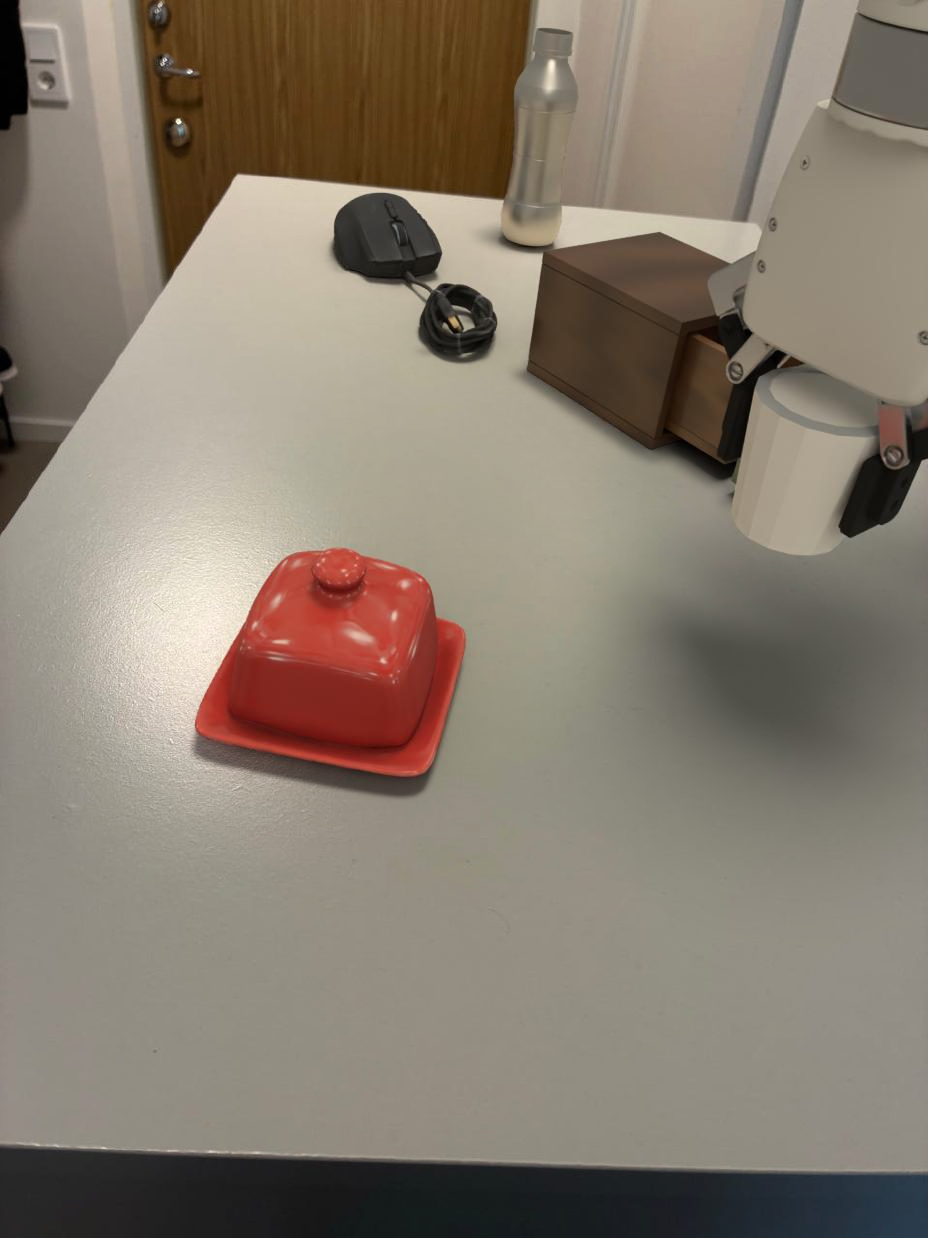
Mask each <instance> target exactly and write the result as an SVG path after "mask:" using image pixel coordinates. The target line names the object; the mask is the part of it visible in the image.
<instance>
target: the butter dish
mask: <svg viewBox="0 0 928 1238" xmlns="http://www.w3.org/2000/svg"><path fill="white" fill-rule="evenodd" d="M436 613H437V612H436V607H435V599H434V595H433V591H432V587H431V585H430V584H429V582H428V581H427V579H426V578H425V577H424V576H422V575H421V574H420V573H418V572H417V571H414V570H412V569H410V568H408V567H405V566H403V565H400V564H397V563H393V562H390V561H386V560H383V559H379V558H375V557H369V556H366V555H362V554H360V553H359V552H358V551H356V550H353V549H350V548H346V547H332V548H327V549H325V550H304V551H297V552H294V553H292V554H289V555H287V556H286V557H284V558H283V559H282V560H280V562H278V564H276V566H275V567H274V568H273V570H272V571H271V573H270V574H269V575H268V577H267V578H266V579H265V580H264V583H263V584H262V586H261V588H260V589H259V591H258V593H257V594H256V596H255V598H254V600H253V602H252V604H251V606H250V609H249V611H248V613H247V616H246V619H245V621H244V623H243V624H242V626H241V628H240V629H239V631H238V633H237V634H236V637H235V638H234V640H233V641H232V643H231V645H230V646H229V649H228V650H227V652H226V654H225V656H224V657H223V660H222V661H221V663H220V665H219V667H218V668H217V670H216V672H215V674H214V676H213V678H212V679H211V682H210V683H209V685H208V688H207V689H206V691H205V693H204V695H203V697H202V699H201V702H200V704H199V706H198V710H197V712H196V715H195V721H194V728H195V731H196V733H197V734H198V735H199V736H201V737H203V738H205V739H207V740H211V741H213V742H217V743H221V744H226V745H229V746H233V747H240V748H246V749H250V750H256V751H259V752H264V753H270V754H274V755H280V756H284V757H285V756H286V757H289V758H293V759H297V760H298V759H299V760H305V761H309V762H316V763H319V764H325V765H331V766H335V767H340V768H345V769H349V770H358V771H362V772H367V773H373V774H378V775H385V776H391V777H401V778H411V777H413V778H414V777H418V776H420V775H424V774H425V773H427V772H428V771H429V769H430V768H431V766H432V765H433V762H434V760H435V758H436V755H437V751H438V748H439V746H440V742H441V738H442V734H443V732H444V728H445V723H446V721H447V717H448V713H449V712H450V711H449V710H450V707H451V703H452V699H453V696H454V692H455V688H456V683H457V681H458V677H459V674H460V673H459V672H460V670H461V666H462V663H463V659H464V654H465V651H466V643H467V637H466V633H465V629H464V628H463V627H462V626H460V625H459V624H457V623H456V622H454V621H450V620H448V619H444V618H441V617H438V616H437V614H436Z"/></svg>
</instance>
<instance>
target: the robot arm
mask: <svg viewBox="0 0 928 1238" xmlns="http://www.w3.org/2000/svg"><path fill="white" fill-rule="evenodd" d="M856 11H857V12H855V13H854V17H853V20H852V22H851V23H852V24H851V26H850V30H849V33H848V37H847V40H846V44H845V47H844V50H843V55H842V57H841V62H840V63H839V64H840V65H839V68H838V71H837V73H836V78H835V81H834V85H833V87H832V91H831V92H832V94H831V96H830V98H826V99H823V100H820V101H818V102H817V104H816V105H815V107H814V109H813V111H812V113H811V115H810V117H809V119H808V120H807V123H806V124H805V126H804V128H803V130H802V132H801V134H800V137H799V138H798V141H797V142H796V144H795V147H794V149H793V151H792V154H791V156H790V157H789V159H788V163H787V165H786V167H785V170H784V172H783V175H782V177H781V179H780V182H779V185H778V187H777V190H776V193H775V195H774V198H773V200H772V204H771V206H770V209H769V212H768V214H767V217H766V219H765V223H764V226H763V229H762V231H761V234H760V237H759V239H758V244H757V246H756V247H757V248H756V250H754V251H751V252H750V253H748V254H745V256H742V257H741V258H739V259H737V260H735V261H733V262H730V263H731V264H730V265H728V266H726V267H724V268H722V269H720V270H718V271H717V272H715V273H713V274H712V275H710V277H709V279H708V289H709V292H710V295H711V298H712V302H713V305H714V308H715V311H716V315H717V316H719V318H720V321H719V324H718V331H719V334H720V337H721V340H722V342H723V345H724V348H725V350H726V353H727V356H728V358H729V362H728V364H727V366H726V375H727V377H728V379H729V380H730V381H731V382H732V383H734V384H733V388H732V391H731V395H730V398H729V402H728V405H727V409H726V413H725V416H724V420H723V423H722V436H721V439H720V443H719V446H718V450H717V457H718V458H720V459H722V460H723V461H725V462H727V461H733V460H735V459H738V458H741V456H742V451H743V446H744V441H745V436H746V431H747V425H748V420H749V415H750V410H751V405H752V400H753V395H754V389H755V386H756V384H757V381H758V378H759V377H760V376H762V375H764V374H766V373H768V372H770V371H771V370H773V369H779V368H780V367H781V366H782V365H783V364H784V363H785V362H786V361H787V360H788V359H789V358H790V357H791V356H792V357H794V358H796V359H798V360H800V361H802V362H804V363H806V364H808V365H810V366H812V367H814V368H816V369H818V370H820V371H822V372H824V373H826V374H828V375H830V376H832V377H834V378H836V379H838V380H840V381H842V382H844V383H846V384H848V385H850V386H852V387H854V388H856V389H858V390H860V391H862V392H864V393H866V394H868V395H871V396H873V397H875V398H877V405H878V421H879V437H880V453H879V454H877V455H874V456H872V457H870V458H868V459H867V460H866V461H865V462H864V463H863V465H862V467H861V470H860V472H859V475H858V478H857V480H856V483H855V485H854V488H853V490H852V493H851V495H850V498H849V500H848V503H847V505H846V508H845V510H844V513H843V515H842V518H841V520H840V523H839V526H838V527H839V528H840V532H841V533H842V534H844V535H845V536H846V537H847V538H849V539H852V538H854V537H856V536H858V535H861V534H863V533H865V532H867V531H868V530H870V529H872V528H875V527H877V526H884V525H886V524H889V523H890V522H892V521H893V520H894V519H895V518H896V517H897V515H898V514H899V513H900V511H901V509H902V506H903V504H904V502H905V500H906V498H907V495H908V493H909V491H910V489H911V487H912V484H913V482H914V480H915V478H916V475H917V473H918V471H919V468H920V466H921V464H922V462H923V461H925V460H928V0H858V2H857V6H856ZM733 462H734V461H733Z"/></svg>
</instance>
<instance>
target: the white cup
mask: <svg viewBox="0 0 928 1238" xmlns="http://www.w3.org/2000/svg"><path fill="white" fill-rule="evenodd" d="M879 453H880V437H879V421H878V405H877V398H875V397H873V396H871V395H868V394H866V393H864V392H862V391H860V390H858V389H856V388H854V387H852V386H850V385H848V384H846V383H844V382H842V381H840V380H838V379H836V378H834V377H832V376H830V375H828V374H826V373H824V372H822V371H820V370H818V369H816V368H812V367H797V366H795V367H788V368H780V369H773V370H771V371H770V372H768V373H766V374H764V375H762V376H760V377H759V378H758V381H757V384H756V386H755V389H754V395H753V400H752V405H751V410H750V415H749V420H748V425H747V431H746V436H745V441H744V446H743V451H742V456H741V462H740V467H739V472H738V477H737V482H736V484H735V488H734V493H733V499H732V503H731V508H730V512H729V514H730V516H731V519H732V521H733V523H734V526H735V527H736V528H737V529H738V530H739V531H740V532H741V533H742V534H743V535H744V536H745V537H746V538H747V539H749V540H751V541H753V542H755V543H757V544H758V545H761V546H762V547H765V548H766V549H769V550H773V551H776V552H780V553H784V554H787V555H791V556H792V555H794V556H809V557H810V556H813V557H814V556H818V555H822V554H826V553H830V552H832V551H833V550H834V549H835V548H836V547H838V546H839V545H841V544H842V542H843V539H844V538H845V536H846V535H844V534H842V533H841V532H840V528H839V527H838V526H839V523H840V520H841V518H842V515H843V513H844V510H845V508H846V505H847V503H848V500H849V498H850V495H851V493H852V490H853V488H854V485H855V483H856V480H857V478H858V475H859V472H860V470H861V467H862V465H863V463H864V462H865V461H866V460H867V459H868V458H870V457H872V456H874V455H877V454H879Z"/></svg>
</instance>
